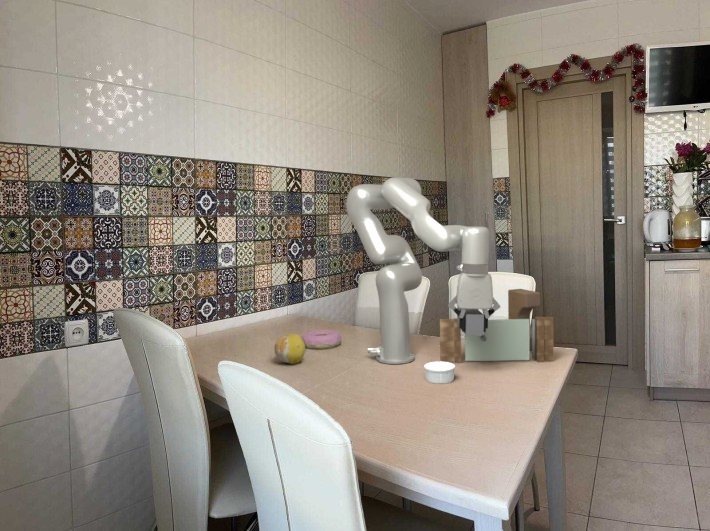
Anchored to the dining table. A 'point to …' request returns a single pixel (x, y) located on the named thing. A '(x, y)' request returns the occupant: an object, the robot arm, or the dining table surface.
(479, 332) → the grey block
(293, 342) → the fruit
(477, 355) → the door
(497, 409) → the dining table surface
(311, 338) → the donut
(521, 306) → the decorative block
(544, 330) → the frame
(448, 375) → the ramekin
